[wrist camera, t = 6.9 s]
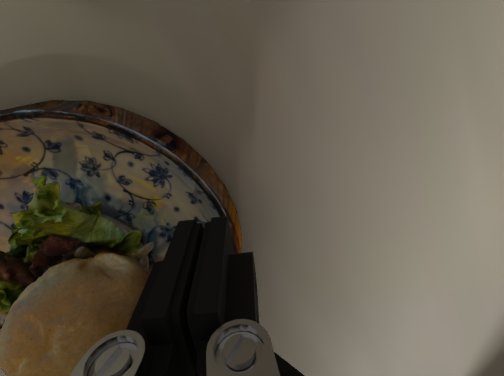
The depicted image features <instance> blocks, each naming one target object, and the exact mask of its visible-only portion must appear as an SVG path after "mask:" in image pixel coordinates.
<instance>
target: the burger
mask: <svg viewBox="0 0 504 376" xmlns="http://www.w3.org/2000/svg"><path fill="white" fill-rule="evenodd" d="M223 216H228V218H229V223H230V230H231V236H232V242H233V249H234V254H236V253H241V229H240V225H239V221H238V216H237V212H236V208H235V206H234V204H233V202H232V200H231V198H230V196H229V194H228V192H227V189H226V187H225V185H224V184H223V182H222V181H221V180H220V178H219V177H218V176H217V174H216V173H215V172H214V170H213V169H212V168H211V166H210V165H209V164H208V162H207V161H206V160H205V159H203V158H202V157H201V156H200V155H199V154H198V153H197V152H196V151H195V150H194V149H193V148H191V147H190V146H189V145H188V144H187V143H186V142H185V141H184V140H183V139H181V138H179V137H178V136H176V135H175V134H173V133H172V132H170V131H168V130H167V129H165V128H164V127H162V126H160V125H159V124H157V123H156V122H154V121H152V120H149V119H147V118H144V117H142V116H140V115H137V114H134V113H132V112H130V111H127V110H125V109H122V108H118V107H114V106H109V105H104V104H100V103H95V102H90V101H59V100H51V101H45V102H40V103H35V104H30V105H26V106H21V107H16V108H11V109H6V110H2V111H0V329H1V331H0V367H1V368H2V370H3V371H4V372H5V374H6V375H7V376H70V374H71V373H72V372H73V370H74V369H75V367H76V366H77V364H78V363H79V361H80V360H81V358H82V357H83V356H84V354H85V353H86V352H87V351H88V350H89V348H90V347H91V346H93V345H94V344H95V343H96V342H97V341H99V340H100V339H102V338H103V337H105V336H107V335H109V334H111V333H114V332H117V331H121V330H126V328H127V326H128V324H129V321H130V319H131V317H132V314H133V312H134V310H135V307H136V305H137V303H138V300H139V298H140V296H141V293H142V291H143V289H144V286H145V284H146V282H147V279H148V277H149V275H150V272H151V270H152V268H153V265H154V264H155V263H156V262H157V261H163V259H164V257H165V254H166V252H167V249H168V247H169V244H170V242H171V239H172V236H173V234H174V231H175V229H176V226H177V224H178V222H179V221H184V220H194V219H195V220H196V221H197V223H202V224H203V228H205V224H206V222H211V219H212V218H213V217H223Z"/></svg>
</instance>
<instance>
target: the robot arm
mask: <svg viewBox="0 0 504 376" xmlns="http://www.w3.org/2000/svg"><path fill="white" fill-rule="evenodd" d="M70 376H304V375H303V374H302V373H300V372H299V371H298V370H297V369H295V368H294V367H293V366H291V365H290V364H289V363H288V362H286V361H285V360H284V359H282V358H281V357H280V356H279V355H277V354H276V353H275V352H274V351H273V347H272V343H271V339H270V337H269V335H268V333H267V331H266V330H265V329H264V328H263V327H262V326H261V325H260V324H259V312H258V296H257V283H256V273H255V265H254V257H253V252H246V253H236V254H234V249H233V242H232V236H231V230H230V223H229V218H228V216H223V217H213V218H212V219H211V222H206V224H205V228H203V224H202V223H197V221H196V220H195V219H194V220H184V221H179V222H178V224H177V226H176V229H175V231H174V234H173V236H172V239H171V242H170V244H169V247H168V249H167V252H166V254H165V257H164V259H163V261H157V262H156V263H155V264H154V265H153V268H152V270H151V272H150V275H149V277H148V279H147V282H146V284H145V286H144V289H143V291H142V293H141V296H140V298H139V300H138V303H137V305H136V307H135V310H134V312H133V314H132V317H131V319H130V321H129V324H128V326H127V328H126V330H121V331H117V332H114V333H111V334H109V335H107V336H105V337H103V338H102V339H100V340H99V341H97V342H96V343H95V344H94V345H93V346H91V347H90V348H89V350H88V351H87V352H86V353H85V354H84V356H83V357H82V358H81V360H80V361H79V363H78V364H77V366H76V367H75V369H74V370H73V372H72V373H71V374H70Z"/></svg>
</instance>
